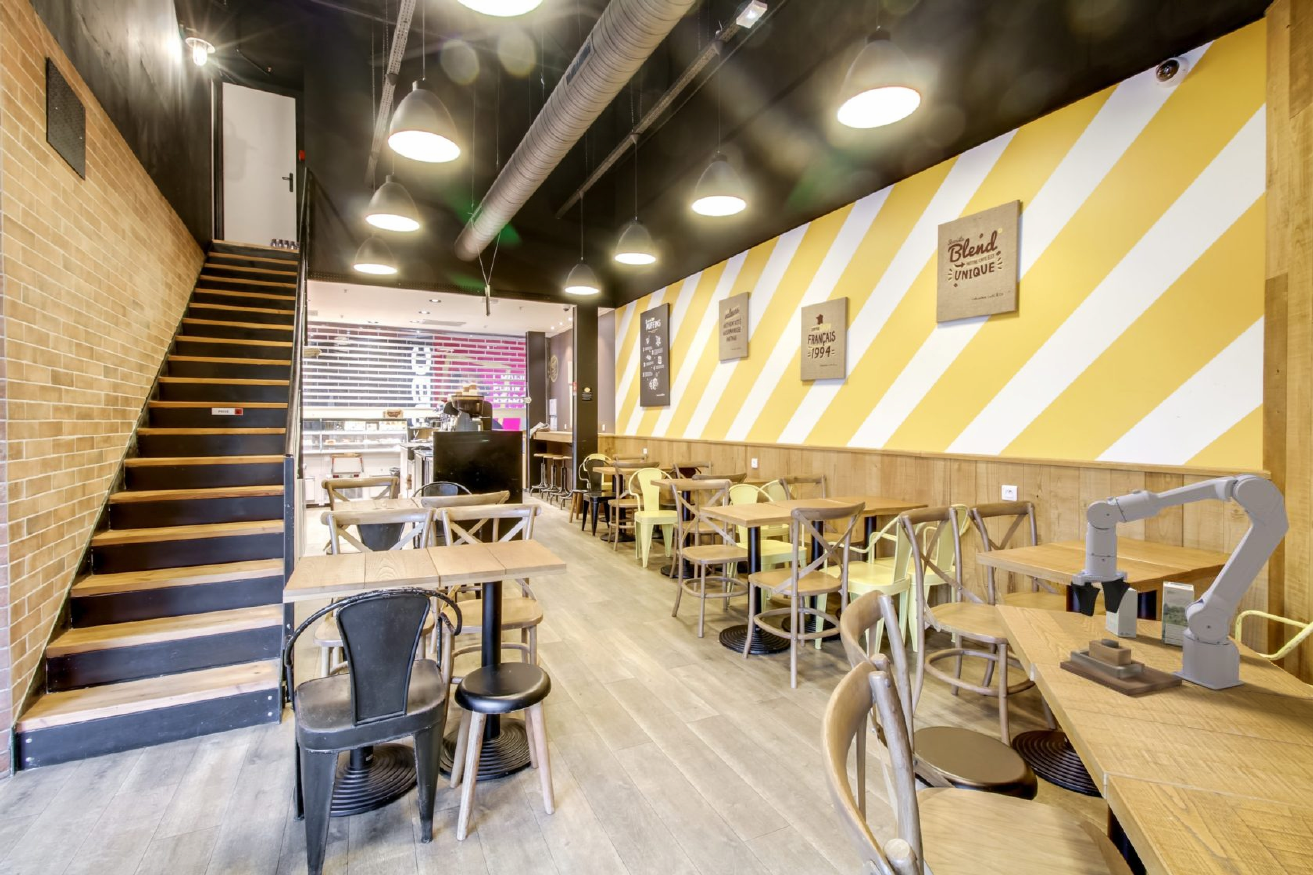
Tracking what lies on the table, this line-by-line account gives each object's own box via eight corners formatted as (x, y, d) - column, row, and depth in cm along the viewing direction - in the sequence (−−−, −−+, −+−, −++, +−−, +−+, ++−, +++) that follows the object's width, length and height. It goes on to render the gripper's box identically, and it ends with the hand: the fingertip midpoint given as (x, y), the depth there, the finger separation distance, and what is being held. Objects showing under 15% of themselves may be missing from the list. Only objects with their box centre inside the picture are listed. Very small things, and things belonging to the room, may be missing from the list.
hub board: (1112, 658, 137) (1112, 644, 137) (1182, 684, 124) (1182, 668, 124) (1060, 667, 132) (1060, 652, 132) (1127, 695, 119) (1127, 678, 119)
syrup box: (1192, 642, 147) (1193, 584, 147) (1192, 649, 143) (1194, 589, 142) (1161, 637, 151) (1163, 579, 151) (1161, 643, 147) (1163, 584, 146)
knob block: (1102, 661, 133) (1102, 635, 132) (1131, 672, 127) (1131, 645, 127) (1088, 663, 131) (1089, 637, 131) (1117, 674, 126) (1117, 647, 125)
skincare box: (1137, 638, 150) (1138, 590, 150) (1117, 637, 151) (1119, 589, 151) (1123, 630, 156) (1124, 584, 156) (1105, 628, 157) (1106, 583, 157)
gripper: (1105, 548, 143) (1104, 605, 143) (1060, 552, 138) (1059, 611, 138) (1137, 555, 136) (1136, 614, 136) (1091, 559, 131) (1089, 621, 132)
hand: (1099, 613), depth 137 cm, fingers open, 7 cm apart
